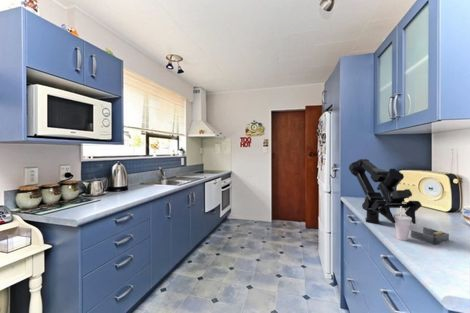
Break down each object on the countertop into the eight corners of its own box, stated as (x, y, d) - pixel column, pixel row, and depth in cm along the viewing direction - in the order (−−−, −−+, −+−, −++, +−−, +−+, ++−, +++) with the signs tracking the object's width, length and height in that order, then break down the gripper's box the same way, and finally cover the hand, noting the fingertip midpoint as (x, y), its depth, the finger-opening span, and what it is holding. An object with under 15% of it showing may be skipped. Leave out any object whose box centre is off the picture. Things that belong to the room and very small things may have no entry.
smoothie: (393, 234, 100) (394, 204, 100) (411, 238, 96) (412, 206, 96) (392, 239, 95) (393, 207, 95) (411, 243, 91) (412, 209, 91)
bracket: (410, 236, 98) (411, 228, 98) (424, 233, 102) (424, 224, 102) (435, 244, 90) (435, 235, 90) (448, 240, 94) (448, 231, 94)
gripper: (375, 182, 100) (390, 213, 89) (419, 182, 98) (439, 214, 88) (366, 196, 108) (378, 226, 97) (406, 196, 106) (423, 227, 96)
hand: (404, 223), depth 94 cm, fingers open, 8 cm apart
